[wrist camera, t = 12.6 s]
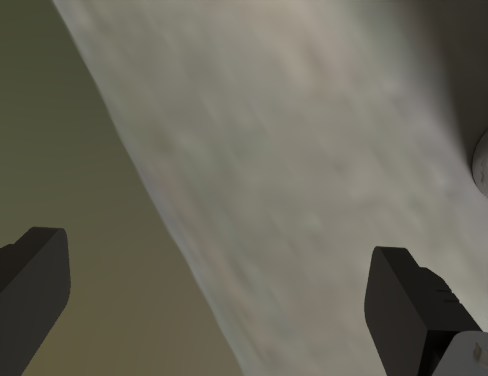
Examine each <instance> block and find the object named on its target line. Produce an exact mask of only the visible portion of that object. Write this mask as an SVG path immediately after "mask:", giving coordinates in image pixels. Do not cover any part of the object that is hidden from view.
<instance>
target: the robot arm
mask: <svg viewBox="0 0 488 376" xmlns="http://www.w3.org/2000/svg"><path fill="white" fill-rule="evenodd" d="M472 170H473V177H474V180H475V183H476V185H477V187H478V188H479V190H480V191H481V193H482V194H484V195H485V196H486V197H487V198H488V130H487V131H486V133H485V134H484V135H483V136H482V138H481V140H480V141H479V143H478V145H477V147H476V150H475V153H474V156H473V163H472ZM69 268H70V267H69V255H68V241H67V234H66V232H65V230H64V229H63V228H48V227H32V228H30V229H29V230H28V231H27V232H26V233H25V234H24V235H23V236H22V237H21V238H20V239H19V240H18V241H17V242H15V243H14V244H9V245H6V246H4V247H2V248H0V376H21V375H22V373H23V372H24V370H25V369H26V367H27V365H28V364H29V362H30V361H31V359H32V358H33V356H34V355H35V353H36V351H37V350H38V348H39V347H40V345H41V344H42V342H43V341H44V339H45V337H46V336H47V334H48V333H49V331H50V329H51V328H52V327H53V325H54V323H55V322H56V320H57V319H58V317H59V316H60V314H61V313H62V311H63V310H64V308H65V306H66V304H67V302H68V298H69V294H70V286H71V285H70V284H71V282H70V269H69ZM364 312H365V320H366V323H367V326H368V329H369V331H370V334H371V336H372V339H373V341H374V344H375V346H376V349H377V351H378V354H379V356H380V359H381V361H382V364H383V366H384V369H385V371H386V374H387V376H488V333H486V332H483V331H482V330H481V328H480V327H479V326H478V324H477V323H476V322H475V321H474V319H473V318H472V317H471V315H470V314H469V313H468V311H467V310H466V309H465V307H464V306H463V305H462V304H460V303H459V300H458V298H457V297H456V296H455V294H454V293H452V290H451V289H450V288H449V286H448V285H447V284H446V283H445V281H444V280H443V279H442V278H441V277H439V276H438V275H436V274H435V273H434V272H432V271H431V270H429V269H428V268H425V267H419V265H418V264H417V263H416V261H415V260H414V258H413V257H412V256H411V254H410V253H409V251H408V250H407V249H406V248H398V247H380V246H376V247H375V248H374V250H373V254H372V259H371V265H370V271H369V277H368V283H367V289H366V295H365V302H364Z"/></svg>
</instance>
